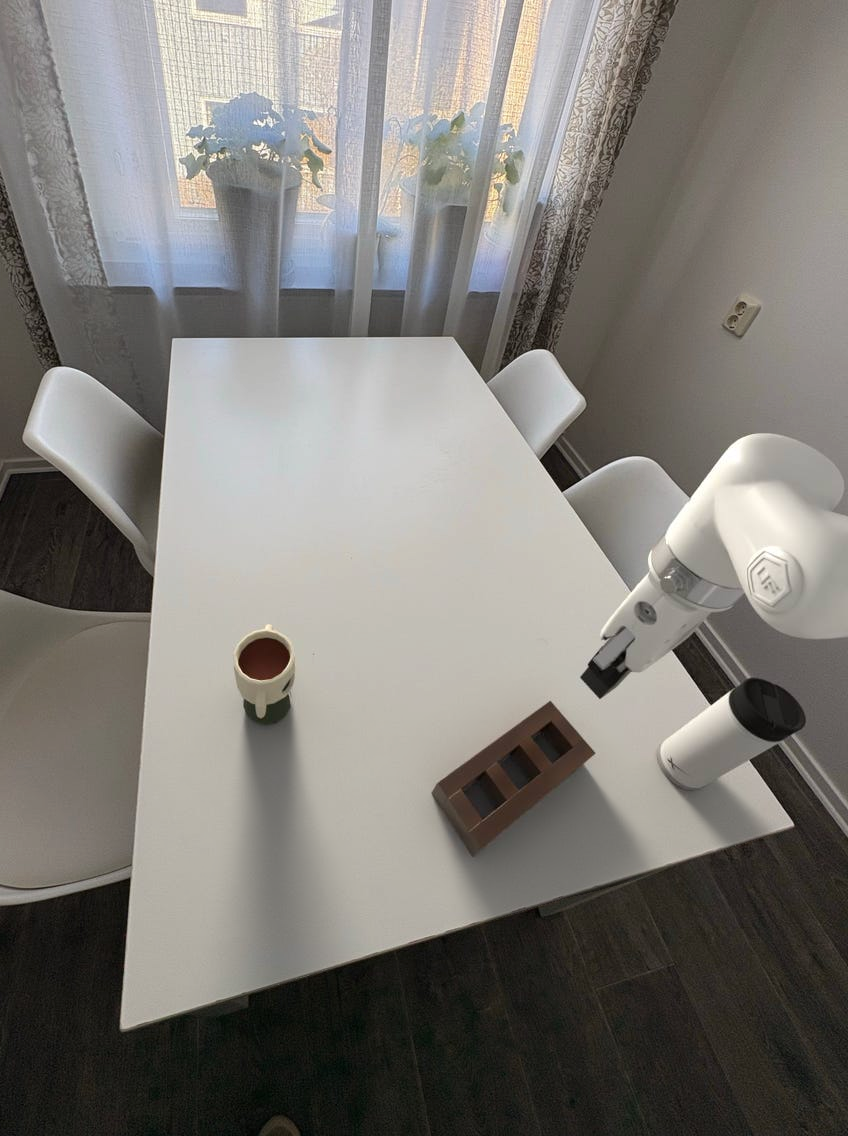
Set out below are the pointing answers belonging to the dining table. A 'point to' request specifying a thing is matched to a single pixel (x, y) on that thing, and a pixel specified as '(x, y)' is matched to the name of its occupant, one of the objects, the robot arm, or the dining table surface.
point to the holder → (501, 786)
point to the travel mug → (730, 733)
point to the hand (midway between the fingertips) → (611, 667)
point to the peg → (597, 684)
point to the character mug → (265, 674)
